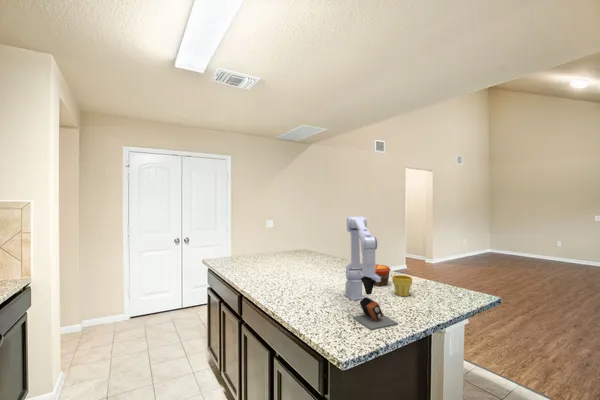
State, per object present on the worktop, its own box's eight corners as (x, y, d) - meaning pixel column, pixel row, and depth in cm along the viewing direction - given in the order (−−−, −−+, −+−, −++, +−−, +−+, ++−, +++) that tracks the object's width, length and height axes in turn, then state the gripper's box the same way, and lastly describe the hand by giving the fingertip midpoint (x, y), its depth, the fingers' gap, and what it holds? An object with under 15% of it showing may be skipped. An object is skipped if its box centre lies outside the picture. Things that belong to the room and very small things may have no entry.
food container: (393, 287, 173) (393, 269, 173) (367, 287, 173) (367, 269, 173) (386, 280, 189) (386, 264, 189) (362, 280, 189) (362, 263, 189)
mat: (352, 318, 127) (352, 316, 127) (378, 313, 132) (378, 312, 132) (370, 330, 115) (370, 328, 115) (398, 324, 120) (398, 323, 120)
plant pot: (394, 290, 167) (394, 273, 167) (413, 293, 161) (413, 276, 162) (390, 295, 158) (390, 277, 158) (410, 298, 153) (410, 280, 153)
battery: (366, 296, 131) (379, 303, 121) (371, 308, 132) (385, 316, 122) (358, 301, 129) (372, 309, 120) (364, 314, 130) (378, 322, 121)
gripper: (352, 261, 133) (352, 290, 133) (371, 267, 120) (371, 300, 120) (364, 260, 136) (364, 288, 136) (384, 266, 123) (384, 298, 123)
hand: (368, 293), depth 128 cm, fingers closed
